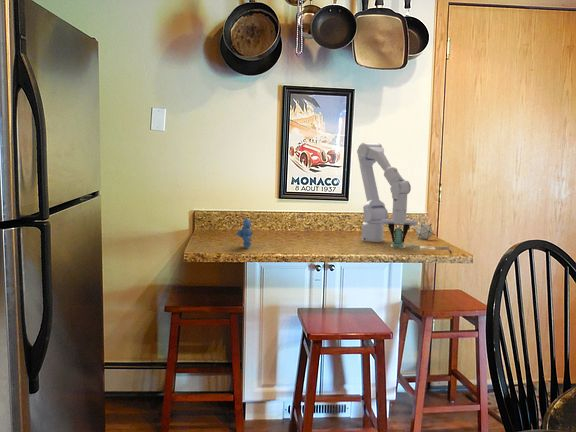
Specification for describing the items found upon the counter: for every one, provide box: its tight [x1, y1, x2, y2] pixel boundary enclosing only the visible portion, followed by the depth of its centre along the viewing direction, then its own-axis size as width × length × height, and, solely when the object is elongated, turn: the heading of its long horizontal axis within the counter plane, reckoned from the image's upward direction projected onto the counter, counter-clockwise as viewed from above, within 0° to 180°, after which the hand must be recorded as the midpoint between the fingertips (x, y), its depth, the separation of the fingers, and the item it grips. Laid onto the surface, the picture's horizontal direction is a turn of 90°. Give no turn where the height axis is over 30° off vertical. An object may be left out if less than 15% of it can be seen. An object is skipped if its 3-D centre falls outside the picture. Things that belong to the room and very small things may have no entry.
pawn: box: [392, 227, 405, 248], centre depth 222 cm, size 5×5×8 cm
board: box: [390, 244, 452, 254], centre depth 221 cm, size 24×10×1 cm, turn 79°
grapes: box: [236, 217, 254, 249], centre depth 218 cm, size 12×7×12 cm, turn 6°
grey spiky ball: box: [413, 222, 436, 241], centre depth 242 cm, size 9×8×10 cm
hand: (398, 242), depth 222 cm, fingers closed on pawn, 3 cm apart
